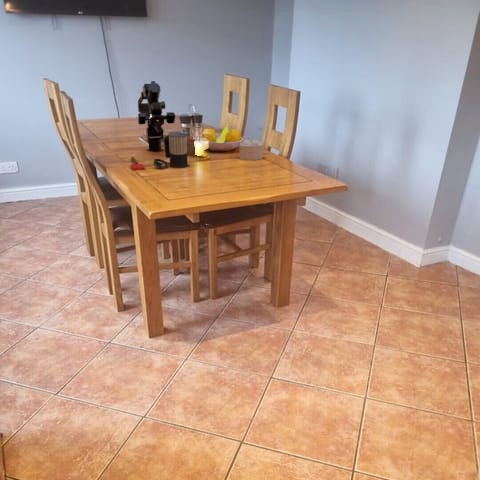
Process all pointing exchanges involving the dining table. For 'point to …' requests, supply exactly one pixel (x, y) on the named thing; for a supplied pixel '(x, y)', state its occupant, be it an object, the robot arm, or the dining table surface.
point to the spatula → (137, 165)
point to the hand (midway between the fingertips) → (159, 132)
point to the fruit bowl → (223, 139)
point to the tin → (191, 147)
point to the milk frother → (174, 151)
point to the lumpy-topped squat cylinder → (251, 150)
